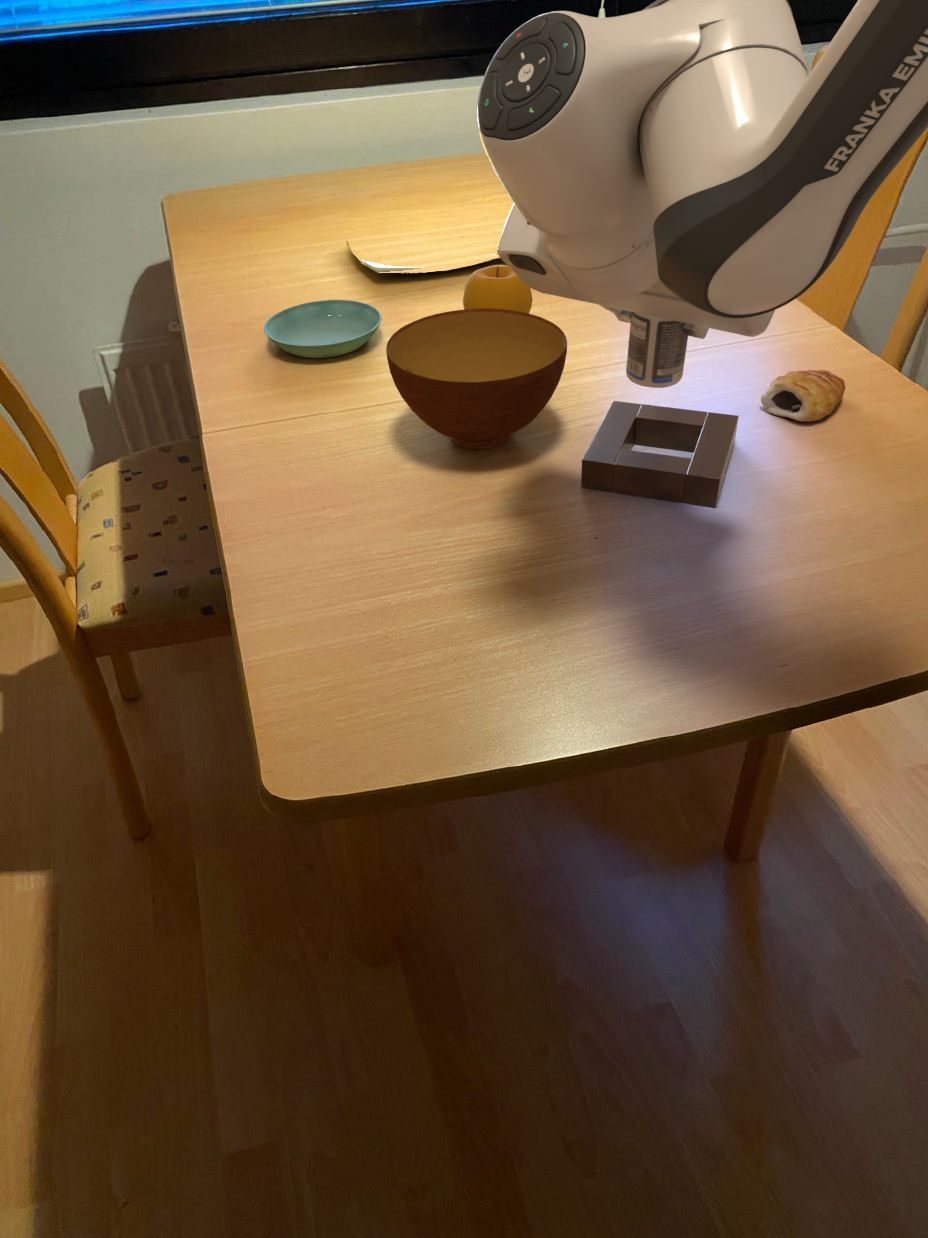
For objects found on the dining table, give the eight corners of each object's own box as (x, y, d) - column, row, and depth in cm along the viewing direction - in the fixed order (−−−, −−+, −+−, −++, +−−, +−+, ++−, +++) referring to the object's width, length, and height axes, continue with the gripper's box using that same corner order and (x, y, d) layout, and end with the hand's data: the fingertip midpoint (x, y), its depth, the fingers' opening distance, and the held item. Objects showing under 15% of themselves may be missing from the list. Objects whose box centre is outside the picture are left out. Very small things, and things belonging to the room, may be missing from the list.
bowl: (374, 415, 101) (364, 326, 95) (523, 384, 105) (523, 297, 99) (426, 494, 88) (419, 396, 82) (594, 455, 93) (599, 359, 86)
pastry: (803, 381, 103) (810, 348, 101) (859, 400, 99) (868, 366, 97) (754, 409, 98) (760, 376, 96) (811, 431, 94) (818, 396, 92)
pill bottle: (686, 368, 79) (700, 269, 74) (677, 392, 76) (691, 291, 71) (630, 361, 81) (641, 263, 75) (619, 384, 77) (630, 284, 72)
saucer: (290, 316, 125) (287, 297, 123) (396, 321, 122) (395, 301, 120) (249, 362, 113) (245, 341, 112) (365, 368, 111) (362, 347, 109)
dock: (734, 442, 93) (738, 415, 91) (715, 507, 84) (720, 479, 82) (611, 426, 97) (612, 400, 95) (580, 487, 88) (581, 459, 86)
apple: (521, 356, 112) (520, 282, 106) (454, 349, 114) (450, 277, 108) (540, 329, 118) (540, 257, 112) (476, 323, 120) (474, 253, 114)
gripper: (778, 208, 59) (804, 309, 71) (510, 170, 69) (573, 265, 81) (739, 300, 59) (772, 385, 71) (477, 249, 69) (545, 332, 81)
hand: (664, 321), depth 76 cm, fingers closed on pill bottle, 5 cm apart
